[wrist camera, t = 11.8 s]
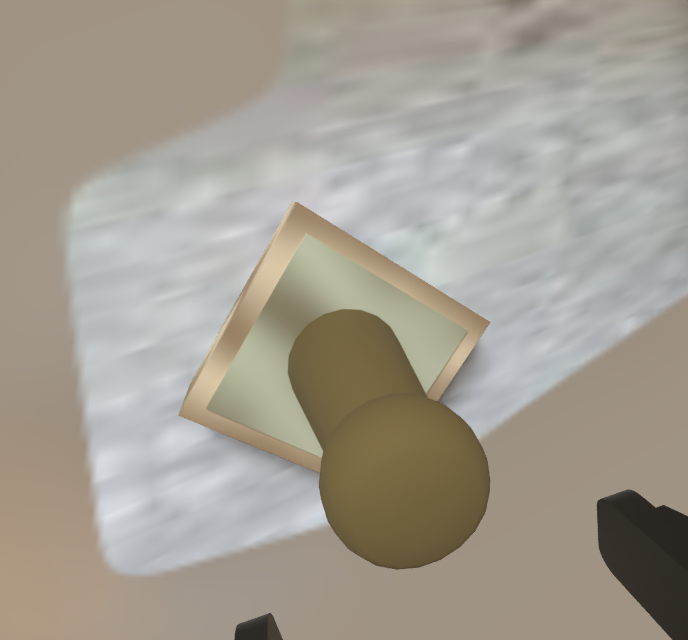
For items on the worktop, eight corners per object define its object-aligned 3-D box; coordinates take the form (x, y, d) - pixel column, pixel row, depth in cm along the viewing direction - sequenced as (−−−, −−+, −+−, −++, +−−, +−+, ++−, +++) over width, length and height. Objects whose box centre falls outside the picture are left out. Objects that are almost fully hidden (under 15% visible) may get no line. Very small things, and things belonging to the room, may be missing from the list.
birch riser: (292, 201, 23) (298, 202, 19) (459, 305, 27) (492, 323, 23) (190, 383, 25) (177, 417, 21) (359, 457, 28) (375, 497, 25)
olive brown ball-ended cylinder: (415, 320, 22) (555, 433, 11) (385, 424, 23) (486, 607, 13) (301, 298, 20) (344, 403, 10) (276, 410, 22) (290, 604, 11)
